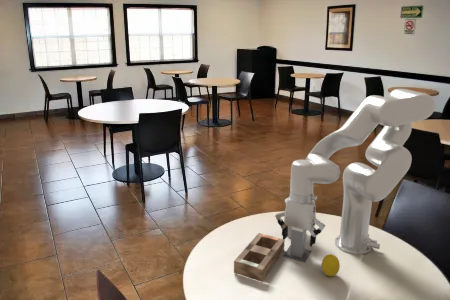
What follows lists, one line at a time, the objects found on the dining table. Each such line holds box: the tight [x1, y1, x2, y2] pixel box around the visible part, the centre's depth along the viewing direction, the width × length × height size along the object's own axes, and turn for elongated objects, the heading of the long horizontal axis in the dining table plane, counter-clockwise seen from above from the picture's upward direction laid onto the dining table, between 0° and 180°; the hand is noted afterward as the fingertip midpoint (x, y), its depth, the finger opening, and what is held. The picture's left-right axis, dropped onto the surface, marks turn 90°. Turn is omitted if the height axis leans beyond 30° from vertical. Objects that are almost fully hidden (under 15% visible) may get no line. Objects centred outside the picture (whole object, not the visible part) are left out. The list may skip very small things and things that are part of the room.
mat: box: [282, 244, 313, 263], centre depth 134 cm, size 8×8×1 cm
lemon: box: [321, 253, 341, 277], centre depth 121 cm, size 6×6×8 cm
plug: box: [290, 227, 307, 258], centre depth 132 cm, size 4×4×12 cm
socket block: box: [233, 232, 286, 283], centre depth 130 cm, size 10×20×5 cm, turn 152°
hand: (298, 241), depth 133 cm, fingers open, 9 cm apart
